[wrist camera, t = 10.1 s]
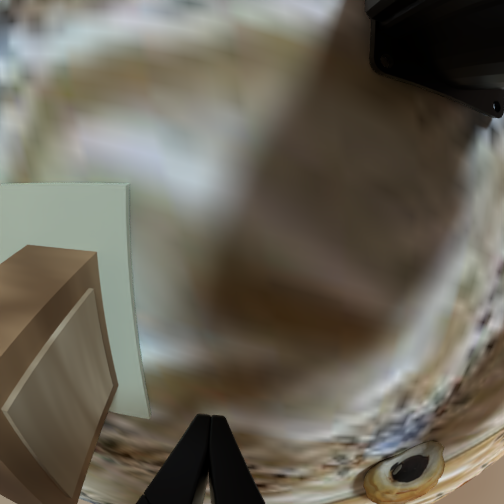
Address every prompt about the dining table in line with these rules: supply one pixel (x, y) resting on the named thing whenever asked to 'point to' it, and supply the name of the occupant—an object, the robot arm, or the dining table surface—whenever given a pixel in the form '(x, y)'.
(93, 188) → the mat
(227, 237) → the dining table surface
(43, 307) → the wooden block
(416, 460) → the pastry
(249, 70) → the dining table surface
